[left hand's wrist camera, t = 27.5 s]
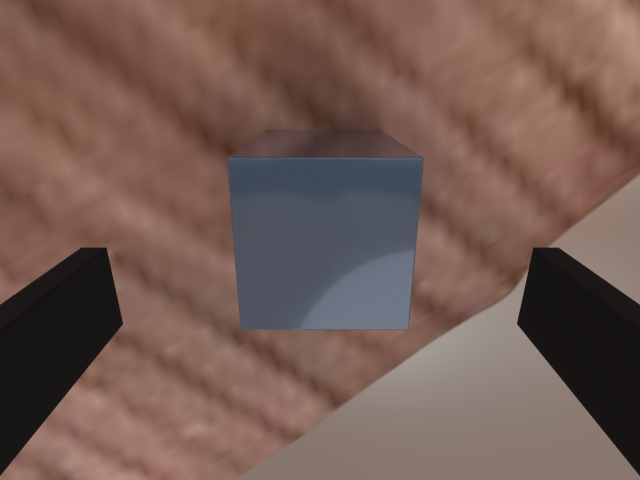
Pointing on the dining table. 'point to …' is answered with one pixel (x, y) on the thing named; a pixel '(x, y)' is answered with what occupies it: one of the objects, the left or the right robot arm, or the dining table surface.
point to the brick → (325, 230)
